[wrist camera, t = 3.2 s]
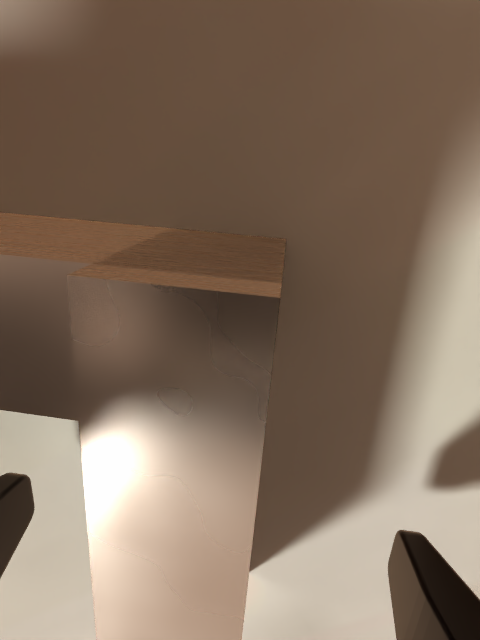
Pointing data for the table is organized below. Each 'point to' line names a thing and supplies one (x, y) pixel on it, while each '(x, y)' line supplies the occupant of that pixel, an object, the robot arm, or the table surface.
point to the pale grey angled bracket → (150, 403)
